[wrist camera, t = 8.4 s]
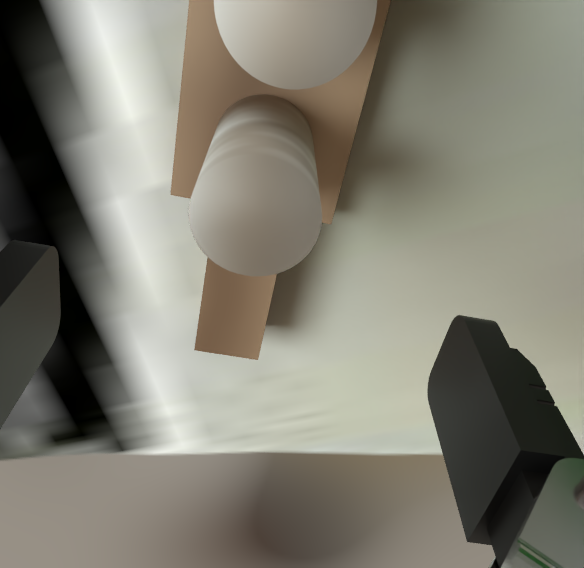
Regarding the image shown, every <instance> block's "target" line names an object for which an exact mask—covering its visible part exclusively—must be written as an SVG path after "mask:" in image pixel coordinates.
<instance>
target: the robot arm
mask: <svg viewBox="0 0 584 568" xmlns="http://www.w3.org/2000/svg"><path fill="white" fill-rule="evenodd" d="M59 323H60V286H59V260H58V253H57V250H56V248H55V247H53V246H47V245H41V244H35V243H29V242H23V241H17V240H13V241H11V242H10V243H8V244H7V245H6V247H5V248H4V249H3V250H2V251H1V252H0V429H1V427H2V425H3V424H4V422H5V421H6V419H7V417H8V416H9V414H10V412H11V411H12V409H13V408H14V406H15V404H16V403H17V401H18V399H19V398H20V396H21V395H22V393H23V391H24V390H25V388H26V386H27V385H28V383H29V382H30V380H31V378H32V377H33V375H34V373H35V372H36V370H37V369H38V367H39V365H40V364H41V362H42V360H43V359H44V357H45V355H46V354H47V352H48V351H49V349H50V347H51V346H52V344H53V342H54V340H55V338H56V335H57V332H58V328H59ZM428 401H429V405H430V409H431V413H432V416H433V420H434V423H435V427H436V431H437V434H438V438H439V441H440V445H441V449H442V452H443V456H444V460H445V463H446V467H447V470H448V474H449V478H450V481H451V485H452V488H453V492H454V496H455V499H456V502H457V506H458V510H459V513H460V517H461V521H462V525H463V528H464V532H465V535H466V539H467V542H473V543H480V544H487V545H492V547H493V550H494V553H495V556H496V557H495V558H494V560H493V561H492V563H491V565H490V566H489V568H584V455H583V453H582V451H581V449H580V447H579V445H578V444H577V442H576V440H575V438H574V436H573V435H572V433H571V431H570V429H569V427H568V425H567V424H566V422H565V420H564V418H563V416H562V415H561V413H560V411H559V409H558V407H557V406H554V403H555V402H554V400H553V398H552V396H551V394H550V393H549V391H548V390H546V385H545V384H544V382H543V380H542V378H541V376H540V374H539V373H538V371H537V369H536V367H535V366H534V365H533V364H532V363H531V362H530V361H529V360H528V359H527V358H525V357H524V356H523V355H522V354H521V353H520V352H519V351H518V350H517V349H514V348H510V347H509V345H508V343H507V341H506V339H505V337H504V335H503V333H502V331H501V330H500V328H499V326H498V324H497V323H496V322H495V321H491V320H485V319H479V318H473V317H467V316H461V315H458V316H456V317H455V318H454V319H453V321H452V323H451V325H450V327H449V329H448V332H447V334H446V337H445V339H444V341H443V344H442V346H441V349H440V351H439V354H438V356H437V358H436V361H435V363H434V366H433V368H432V370H431V373H430V377H429V382H428Z"/></svg>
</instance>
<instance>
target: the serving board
mask: <svg viewBox="0 0 584 568" xmlns="http://www.w3.org/2000/svg"><path fill="white" fill-rule="evenodd" d="M390 2H391V0H189V9H188V20H187V30H186V40H185V51H184V61H183V71H182V82H181V92H180V103H179V113H178V123H177V134H176V144H175V154H174V165H173V175H172V185H171V195H174V196H180V197H185V198H190V203H189V212H188V216H189V224H190V229H191V232H192V234H193V237H194V239H195V241H196V243H197V244H198V246H199V247H200V249H201V250H202V251H203V253H204V254H205V255H206V256H207V257H208V259H207V266H206V273H205V280H204V287H203V294H202V301H201V308H200V315H199V322H198V329H197V336H196V343H195V350H197V351H203V352H210V353H216V354H223V355H229V356H236V357H242V358H249V359H255V360H258V357H259V353H260V348H261V344H262V339H263V335H264V330H265V326H266V321H267V317H268V312H269V308H270V303H271V299H272V294H273V290H274V285H275V281H276V276H277V274H278V273H281V272H283V271H286V270H288V269H290V268H292V267H294V266H295V265H297V264H298V263H299V262H301V261H302V260H303V259H304V258H305V257H306V256H307V255H308V254H309V253H310V251H311V250H312V248H313V247H314V246H315V243H316V241H317V239H318V237H319V234H320V231H321V225H322V223H326V224H331V223H332V219H333V215H334V212H335V208H336V204H337V200H338V197H339V193H340V189H341V185H342V182H343V178H344V174H345V170H346V167H347V163H348V159H349V156H350V152H351V148H352V144H353V141H354V137H355V133H356V129H357V126H358V122H359V118H360V114H361V111H362V107H363V103H364V99H365V96H366V92H367V88H368V84H369V81H370V77H371V73H372V69H373V66H374V62H375V58H376V54H377V51H378V47H379V43H380V39H381V36H382V32H383V28H384V24H385V21H386V17H387V13H388V9H389V6H390Z"/></svg>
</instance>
